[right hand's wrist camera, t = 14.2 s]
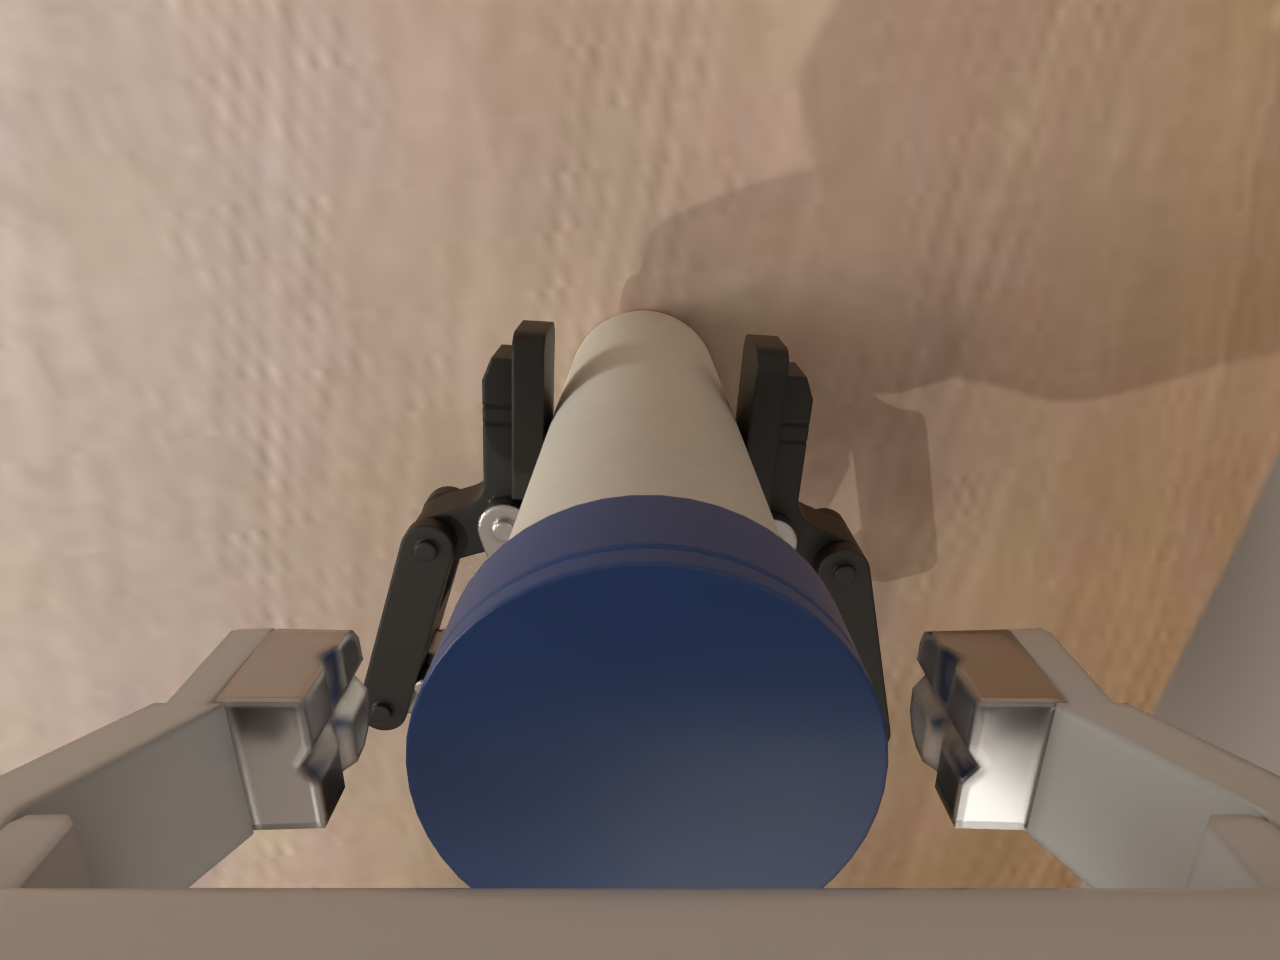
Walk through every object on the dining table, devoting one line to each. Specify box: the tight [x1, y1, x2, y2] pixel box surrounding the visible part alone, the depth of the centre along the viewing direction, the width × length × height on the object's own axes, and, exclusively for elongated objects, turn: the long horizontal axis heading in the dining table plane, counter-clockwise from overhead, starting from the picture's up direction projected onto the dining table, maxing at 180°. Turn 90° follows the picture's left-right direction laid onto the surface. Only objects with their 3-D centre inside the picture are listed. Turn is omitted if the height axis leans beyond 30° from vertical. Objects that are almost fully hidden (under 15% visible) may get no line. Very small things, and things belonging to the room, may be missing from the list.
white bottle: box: [509, 311, 781, 540], centre depth 17 cm, size 4×4×17 cm
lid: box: [406, 495, 888, 888], centre depth 9 cm, size 5×5×2 cm
